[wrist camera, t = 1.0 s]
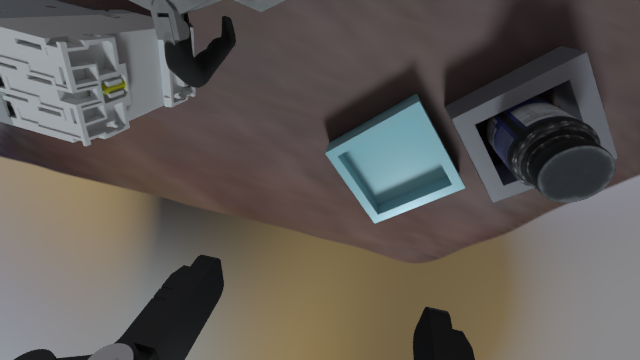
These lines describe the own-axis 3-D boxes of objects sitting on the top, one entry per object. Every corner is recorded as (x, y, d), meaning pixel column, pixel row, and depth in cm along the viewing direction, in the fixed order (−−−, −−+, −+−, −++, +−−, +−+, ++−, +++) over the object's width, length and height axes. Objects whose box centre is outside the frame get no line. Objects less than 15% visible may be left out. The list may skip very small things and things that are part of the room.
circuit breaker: (71, -4, 32) (-133, -9, 20) (193, 27, 31) (63, 43, 19) (86, 66, 36) (-74, 100, 24) (195, 95, 35) (89, 147, 23)
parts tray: (416, 93, 30) (419, 101, 28) (459, 174, 34) (465, 188, 32) (329, 142, 35) (325, 153, 33) (375, 209, 39) (374, 223, 36)
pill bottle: (517, 160, 32) (571, 224, 23) (470, 133, 32) (505, 187, 22) (567, 111, 29) (653, 163, 19) (515, 81, 28) (578, 119, 19)
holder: (561, 45, 26) (586, 51, 23) (591, 140, 30) (617, 158, 26) (444, 106, 31) (451, 119, 27) (482, 182, 34) (493, 202, 31)
